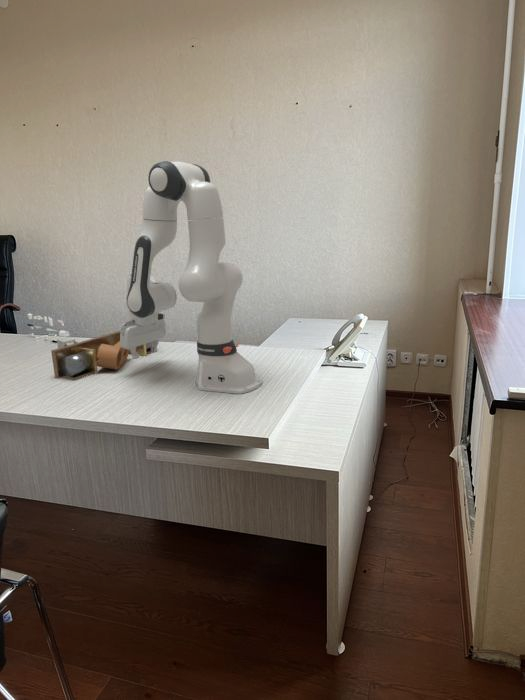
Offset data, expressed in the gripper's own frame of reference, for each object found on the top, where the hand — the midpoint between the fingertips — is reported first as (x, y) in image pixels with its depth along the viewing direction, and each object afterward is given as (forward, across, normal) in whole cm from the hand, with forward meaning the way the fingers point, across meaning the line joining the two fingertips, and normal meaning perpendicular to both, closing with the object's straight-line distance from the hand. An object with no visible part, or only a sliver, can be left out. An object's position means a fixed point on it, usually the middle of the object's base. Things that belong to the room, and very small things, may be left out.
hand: (145, 355), depth 192 cm
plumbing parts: (+7, +12, +69) cm, 70 cm away
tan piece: (+1, -1, +10) cm, 10 cm away
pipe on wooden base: (+6, 0, +16) cm, 17 cm away
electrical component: (+6, +3, +41) cm, 42 cm away
